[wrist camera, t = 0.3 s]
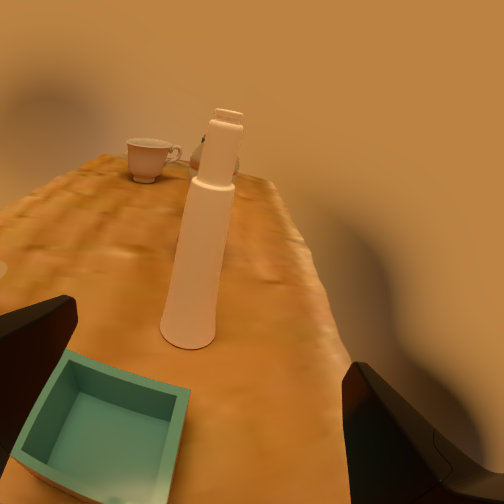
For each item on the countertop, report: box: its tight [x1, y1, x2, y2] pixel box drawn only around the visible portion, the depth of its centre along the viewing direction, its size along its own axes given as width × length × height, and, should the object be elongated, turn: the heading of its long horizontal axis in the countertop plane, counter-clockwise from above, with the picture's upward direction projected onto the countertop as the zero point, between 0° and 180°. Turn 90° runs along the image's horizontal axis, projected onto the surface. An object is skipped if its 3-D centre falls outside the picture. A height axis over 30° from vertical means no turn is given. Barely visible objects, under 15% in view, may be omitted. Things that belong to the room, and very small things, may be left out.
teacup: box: [126, 138, 182, 183], centre depth 68 cm, size 12×15×10 cm
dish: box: [9, 349, 191, 504], centre depth 15 cm, size 10×10×5 cm
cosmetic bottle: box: [160, 108, 244, 349], centre depth 25 cm, size 6×6×22 cm
